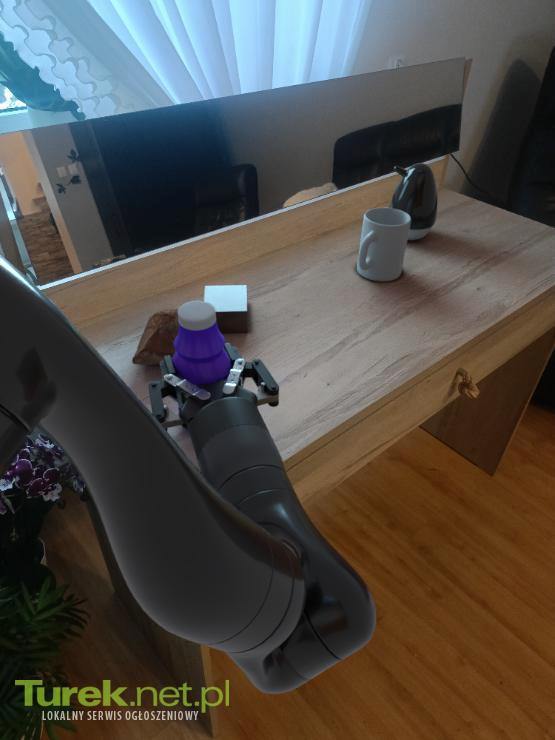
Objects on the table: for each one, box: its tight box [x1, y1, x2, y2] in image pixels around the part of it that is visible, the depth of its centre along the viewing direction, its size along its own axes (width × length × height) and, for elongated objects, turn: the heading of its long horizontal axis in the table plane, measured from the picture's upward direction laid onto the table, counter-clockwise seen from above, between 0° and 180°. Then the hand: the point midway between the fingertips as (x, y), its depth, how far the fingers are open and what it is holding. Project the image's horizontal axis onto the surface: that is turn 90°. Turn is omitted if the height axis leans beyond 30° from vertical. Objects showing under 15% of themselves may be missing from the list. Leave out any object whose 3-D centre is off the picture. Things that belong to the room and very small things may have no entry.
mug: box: [356, 207, 411, 282], centre depth 91 cm, size 12×8×11 cm
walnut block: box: [203, 284, 249, 333], centre depth 81 cm, size 7×8×4 cm
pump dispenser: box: [388, 162, 438, 241], centre depth 104 cm, size 10×10×15 cm
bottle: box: [172, 300, 232, 412], centre depth 59 cm, size 7×6×17 cm
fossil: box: [131, 307, 179, 366], centre depth 73 cm, size 13×8×10 cm
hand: (197, 355), depth 60 cm, fingers closed on bottle, 6 cm apart
